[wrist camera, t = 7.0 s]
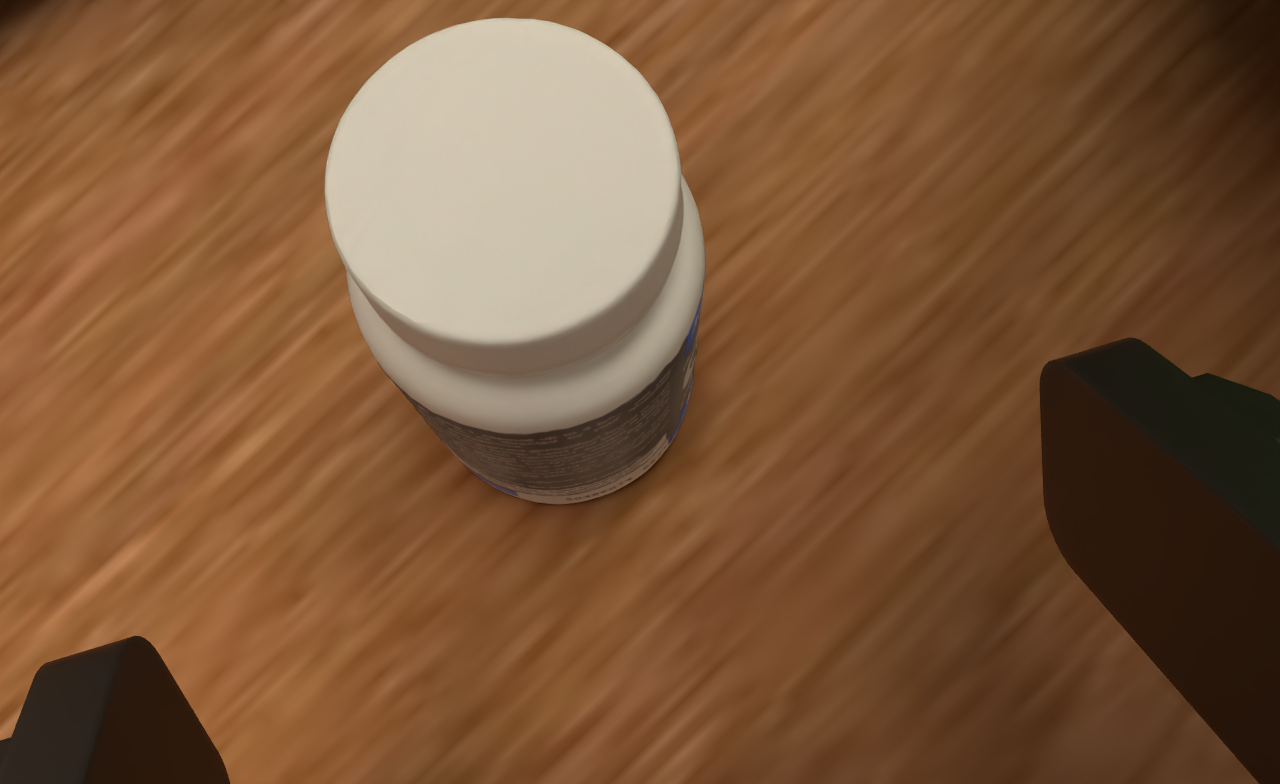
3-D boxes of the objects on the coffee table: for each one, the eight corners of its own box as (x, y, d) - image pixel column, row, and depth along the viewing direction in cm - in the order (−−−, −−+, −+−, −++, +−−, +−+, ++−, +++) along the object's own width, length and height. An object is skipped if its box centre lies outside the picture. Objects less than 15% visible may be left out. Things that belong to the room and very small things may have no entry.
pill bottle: (738, 432, 20) (798, 259, 12) (501, 554, 20) (394, 459, 11) (618, 214, 21) (597, -80, 13) (390, 324, 21) (221, 90, 13)
